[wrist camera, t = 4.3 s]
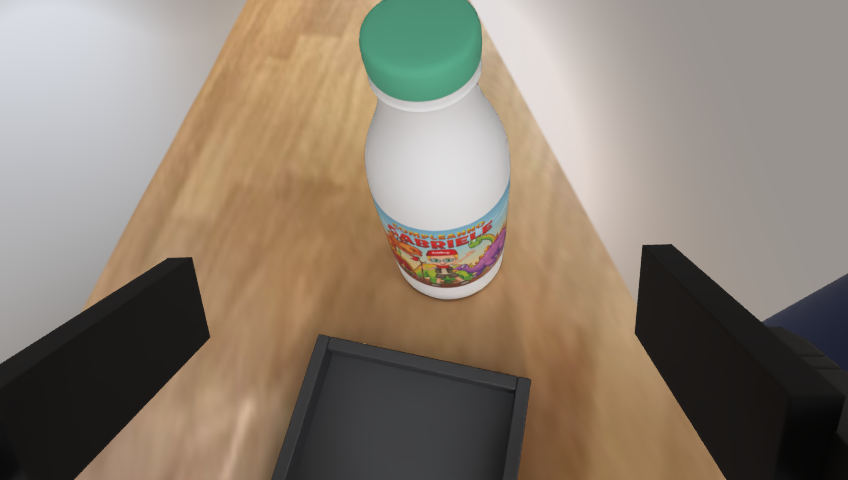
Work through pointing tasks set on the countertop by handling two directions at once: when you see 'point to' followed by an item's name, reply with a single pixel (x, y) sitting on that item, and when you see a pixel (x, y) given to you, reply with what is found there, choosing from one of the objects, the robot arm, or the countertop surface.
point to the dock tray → (401, 418)
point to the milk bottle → (435, 145)
